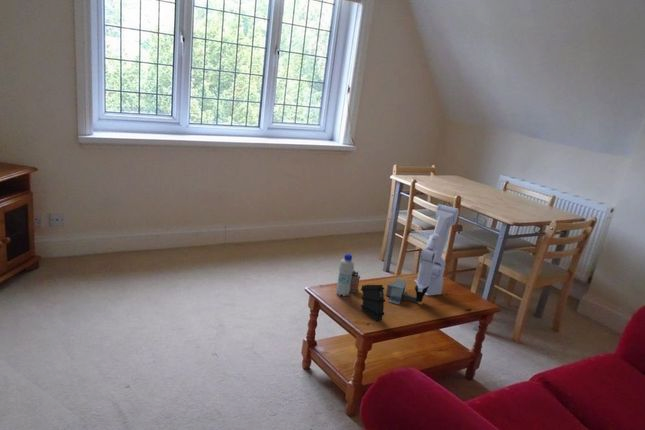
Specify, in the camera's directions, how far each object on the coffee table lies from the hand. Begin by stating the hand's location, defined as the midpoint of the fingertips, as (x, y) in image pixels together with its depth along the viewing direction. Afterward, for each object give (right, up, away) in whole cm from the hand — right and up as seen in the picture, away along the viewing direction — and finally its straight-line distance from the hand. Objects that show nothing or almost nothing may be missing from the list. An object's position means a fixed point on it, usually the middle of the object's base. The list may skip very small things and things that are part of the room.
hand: (419, 300), depth 227 cm
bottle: (-36, +3, -2) cm, 36 cm away
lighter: (-32, +4, +4) cm, 33 cm away
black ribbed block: (-25, -3, -16) cm, 30 cm away
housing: (-10, +1, +4) cm, 10 cm away
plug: (-7, 0, +2) cm, 7 cm away
